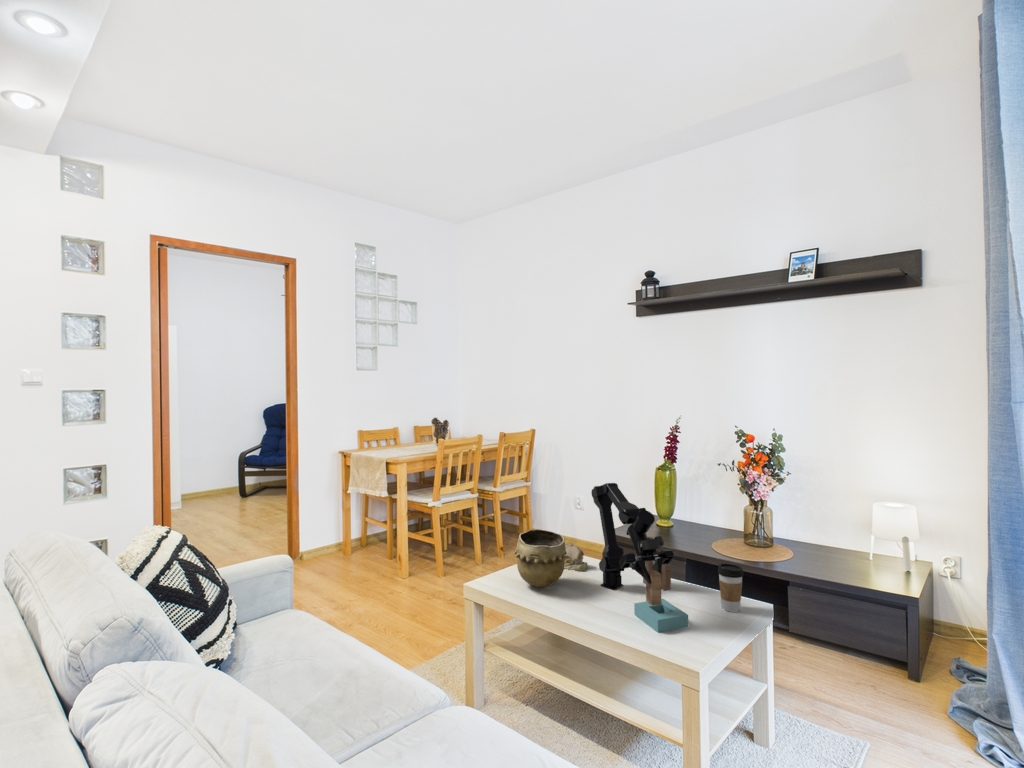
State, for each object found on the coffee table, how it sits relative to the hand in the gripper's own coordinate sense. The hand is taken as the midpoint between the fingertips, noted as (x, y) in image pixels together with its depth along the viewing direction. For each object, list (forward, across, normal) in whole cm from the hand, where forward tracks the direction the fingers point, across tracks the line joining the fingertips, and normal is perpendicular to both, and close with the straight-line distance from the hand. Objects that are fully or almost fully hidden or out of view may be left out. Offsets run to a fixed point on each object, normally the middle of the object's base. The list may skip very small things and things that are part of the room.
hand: (655, 582), depth 181 cm
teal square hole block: (+8, +3, +11) cm, 14 cm away
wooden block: (-12, +17, +31) cm, 38 cm away
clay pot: (-20, -26, +40) cm, 52 cm away
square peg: (+4, 0, +6) cm, 7 cm away
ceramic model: (-33, -7, +53) cm, 63 cm away
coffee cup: (+7, +31, +12) cm, 34 cm away
